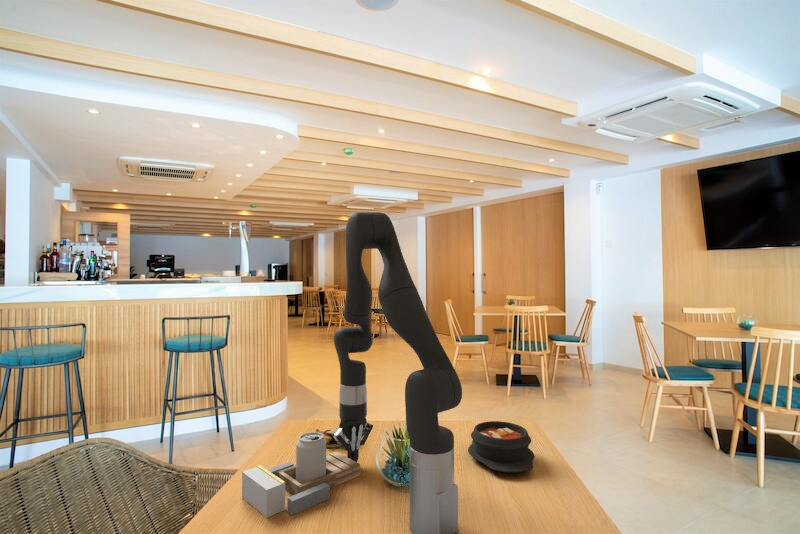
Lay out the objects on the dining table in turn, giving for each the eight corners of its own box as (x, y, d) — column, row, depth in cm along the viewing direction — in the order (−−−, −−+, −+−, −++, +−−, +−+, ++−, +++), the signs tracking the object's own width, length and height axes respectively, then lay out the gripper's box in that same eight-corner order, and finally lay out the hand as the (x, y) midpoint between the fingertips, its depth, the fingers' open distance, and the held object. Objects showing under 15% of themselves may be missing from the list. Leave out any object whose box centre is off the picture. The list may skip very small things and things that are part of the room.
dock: (329, 498, 102) (329, 471, 102) (273, 523, 91) (273, 494, 92) (289, 473, 114) (289, 449, 114) (236, 492, 104) (236, 466, 104)
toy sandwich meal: (339, 431, 146) (339, 417, 146) (363, 443, 135) (363, 428, 136) (306, 440, 137) (306, 425, 137) (329, 454, 127) (329, 438, 127)
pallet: (360, 475, 113) (360, 463, 113) (300, 500, 101) (300, 487, 101) (336, 462, 121) (336, 451, 121) (277, 483, 109) (277, 471, 109)
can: (320, 491, 105) (320, 442, 105) (291, 489, 106) (291, 440, 106) (330, 477, 112) (330, 431, 112) (302, 475, 113) (302, 429, 113)
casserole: (550, 478, 112) (549, 446, 112) (479, 480, 111) (479, 447, 111) (517, 441, 137) (517, 414, 137) (460, 442, 135) (460, 415, 136)
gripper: (341, 408, 111) (341, 475, 111) (380, 397, 120) (380, 459, 120) (325, 401, 116) (325, 465, 116) (363, 392, 126) (363, 451, 126)
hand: (353, 462), depth 118 cm, fingers closed
